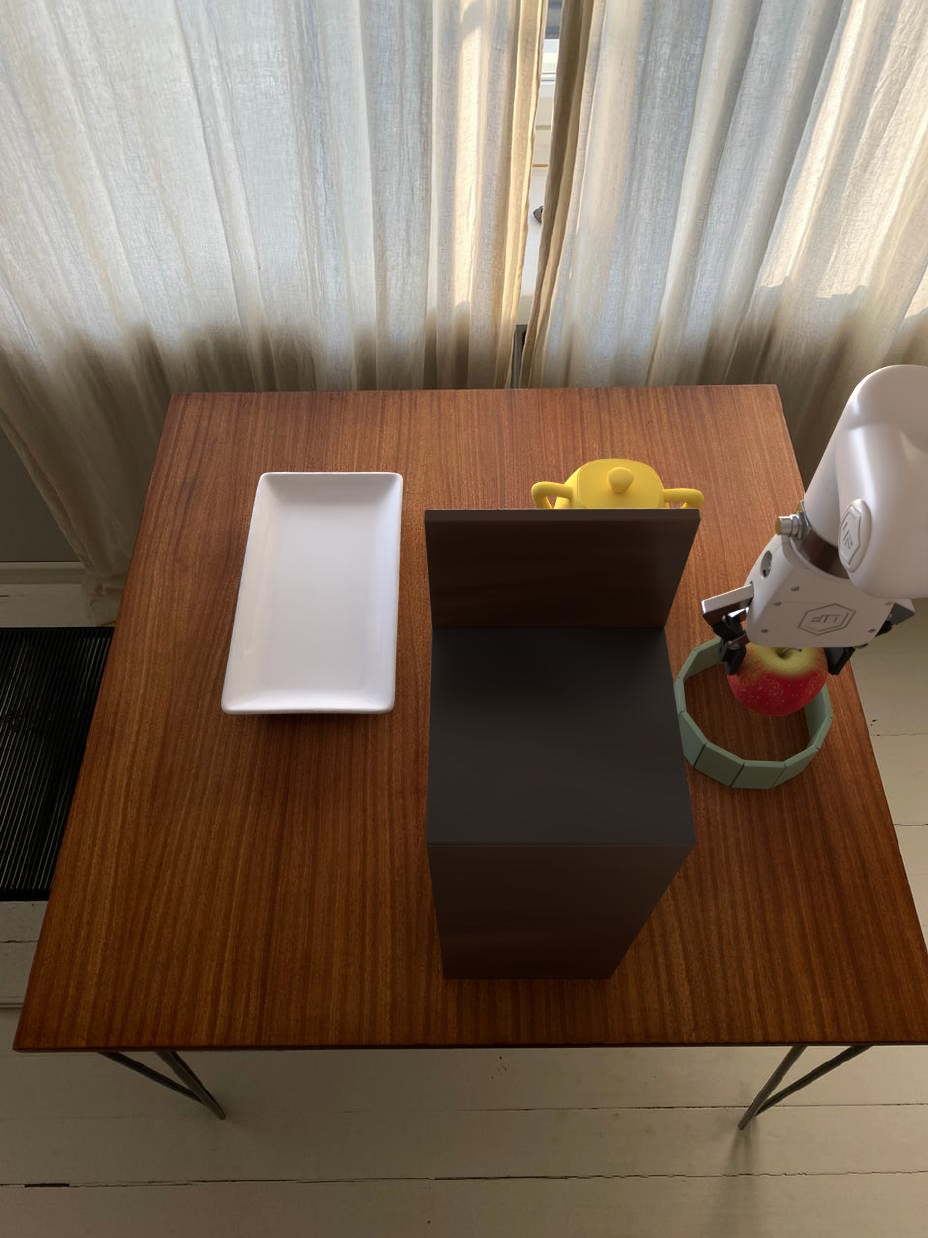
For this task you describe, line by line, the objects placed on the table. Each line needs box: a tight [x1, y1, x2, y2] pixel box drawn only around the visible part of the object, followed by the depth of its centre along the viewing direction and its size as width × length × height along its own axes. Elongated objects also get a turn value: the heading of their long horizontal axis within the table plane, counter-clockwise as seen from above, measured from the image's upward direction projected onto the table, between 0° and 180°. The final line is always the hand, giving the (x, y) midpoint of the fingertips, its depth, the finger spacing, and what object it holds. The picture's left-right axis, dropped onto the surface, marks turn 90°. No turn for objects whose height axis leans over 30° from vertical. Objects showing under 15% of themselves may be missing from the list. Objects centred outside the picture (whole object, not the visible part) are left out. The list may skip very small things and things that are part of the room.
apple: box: [725, 642, 829, 717], centre depth 76 cm, size 8×8×10 cm
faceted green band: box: [673, 636, 834, 790], centre depth 84 cm, size 14×14×5 cm
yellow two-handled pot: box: [530, 458, 705, 510], centre depth 94 cm, size 14×14×12 cm
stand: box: [423, 507, 702, 980], centre depth 59 cm, size 14×14×44 cm
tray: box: [220, 471, 404, 715], centre depth 94 cm, size 17×31×4 cm, turn 0°
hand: (778, 660), depth 76 cm, fingers closed on apple, 8 cm apart
